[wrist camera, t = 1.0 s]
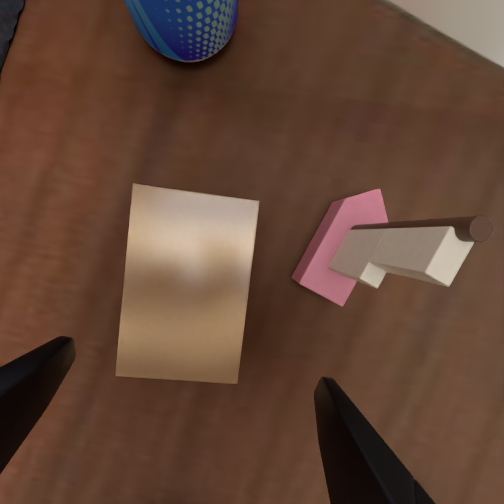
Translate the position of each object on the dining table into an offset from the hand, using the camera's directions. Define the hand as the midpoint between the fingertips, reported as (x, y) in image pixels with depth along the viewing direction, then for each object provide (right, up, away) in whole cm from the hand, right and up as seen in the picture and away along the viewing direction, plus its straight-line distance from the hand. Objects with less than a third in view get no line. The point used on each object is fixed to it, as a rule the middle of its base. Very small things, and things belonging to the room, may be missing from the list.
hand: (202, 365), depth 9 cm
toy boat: (+10, +5, +14) cm, 18 cm away
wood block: (-3, +2, +14) cm, 14 cm away
